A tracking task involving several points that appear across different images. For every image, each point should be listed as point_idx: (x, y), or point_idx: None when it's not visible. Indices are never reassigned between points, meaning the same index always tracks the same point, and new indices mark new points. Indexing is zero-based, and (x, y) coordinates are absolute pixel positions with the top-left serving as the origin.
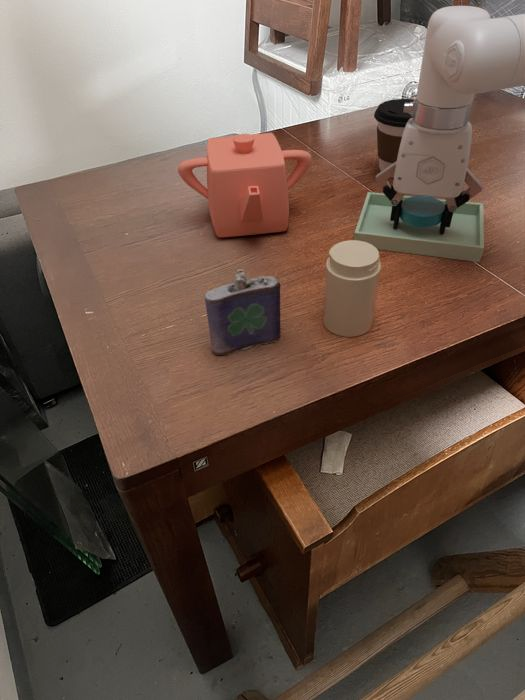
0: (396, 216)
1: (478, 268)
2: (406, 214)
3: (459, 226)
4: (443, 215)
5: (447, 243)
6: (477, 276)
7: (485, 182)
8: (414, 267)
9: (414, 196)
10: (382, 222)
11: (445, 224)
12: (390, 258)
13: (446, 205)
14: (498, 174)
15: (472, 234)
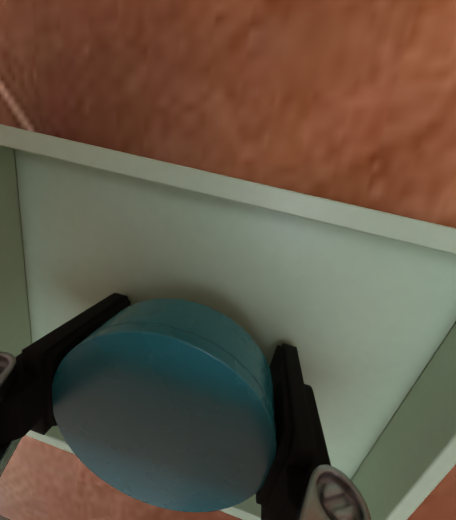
0: (297, 389)
1: (16, 86)
2: (254, 381)
3: None
4: (65, 345)
5: (73, 142)
6: (13, 18)
7: (36, 498)
8: (250, 65)
9: (190, 510)
10: (323, 391)
11: (86, 312)
12: (346, 142)
13: (29, 408)
14: (16, 514)
15: (38, 291)
